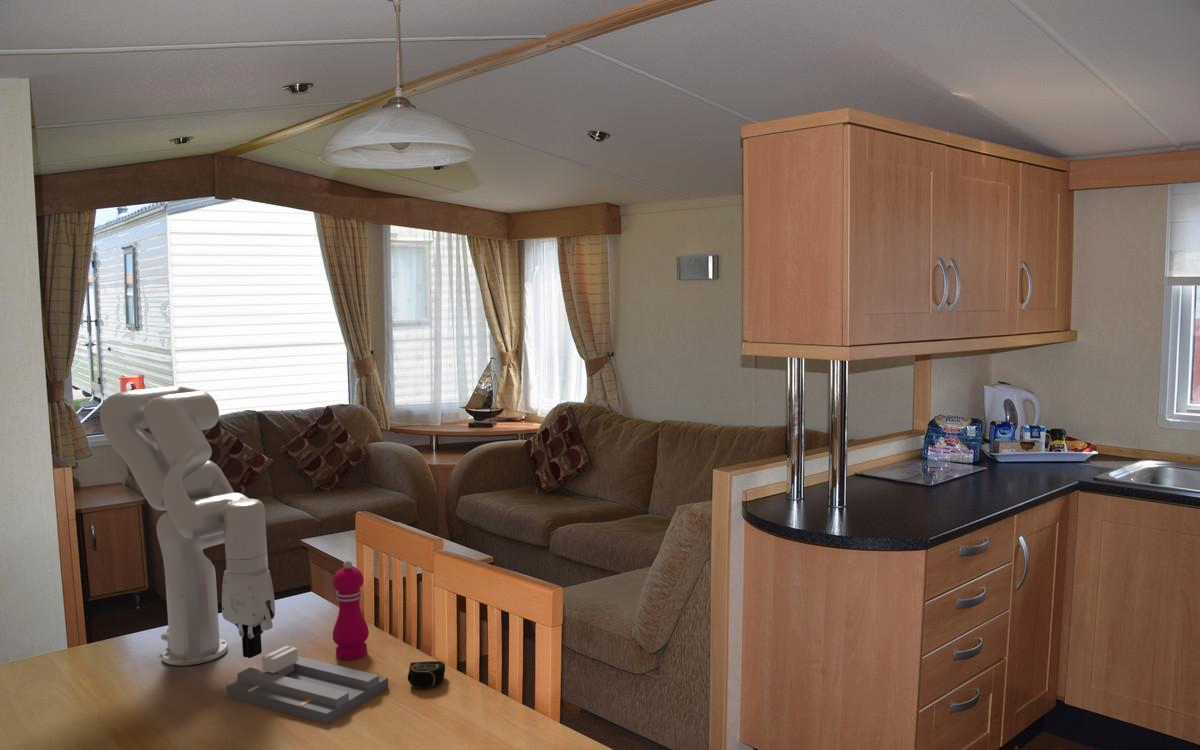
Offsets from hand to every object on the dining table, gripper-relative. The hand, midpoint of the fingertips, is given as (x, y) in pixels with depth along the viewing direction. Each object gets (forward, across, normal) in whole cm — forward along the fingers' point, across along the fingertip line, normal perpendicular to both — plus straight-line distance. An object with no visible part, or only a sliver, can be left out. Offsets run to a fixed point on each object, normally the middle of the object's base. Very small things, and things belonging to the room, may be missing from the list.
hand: (252, 654), depth 177 cm
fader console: (+5, +14, 0) cm, 15 cm away
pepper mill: (+5, +10, +17) cm, 20 cm away
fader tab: (+2, +8, 0) cm, 8 cm away
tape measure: (+5, +32, +13) cm, 35 cm away
